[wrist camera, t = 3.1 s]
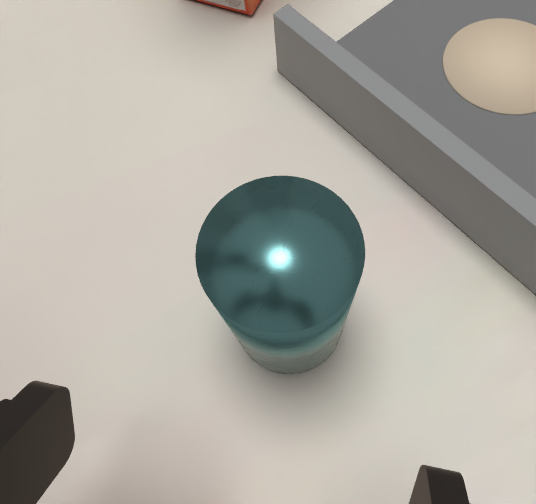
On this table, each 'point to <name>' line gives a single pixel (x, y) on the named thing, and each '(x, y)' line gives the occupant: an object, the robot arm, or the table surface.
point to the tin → (282, 269)
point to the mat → (463, 71)
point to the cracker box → (235, 5)
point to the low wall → (411, 144)
